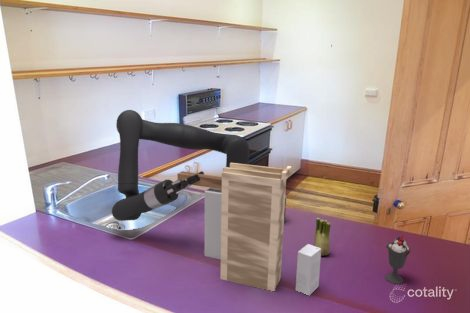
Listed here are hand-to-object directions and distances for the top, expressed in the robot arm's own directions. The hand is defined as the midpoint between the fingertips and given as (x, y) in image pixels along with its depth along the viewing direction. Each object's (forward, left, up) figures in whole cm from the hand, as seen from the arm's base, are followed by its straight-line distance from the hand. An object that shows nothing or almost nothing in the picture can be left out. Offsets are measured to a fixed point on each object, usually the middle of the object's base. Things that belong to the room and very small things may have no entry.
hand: (201, 175), depth 112 cm
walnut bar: (0, +5, -3) cm, 6 cm away
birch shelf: (+9, +21, -26) cm, 34 cm away
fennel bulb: (-15, +38, -26) cm, 48 cm away
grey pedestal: (0, +7, -26) cm, 27 cm away
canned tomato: (-34, +17, -26) cm, 46 cm away
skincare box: (+7, +37, -26) cm, 46 cm away
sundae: (-8, +60, -26) cm, 66 cm away
